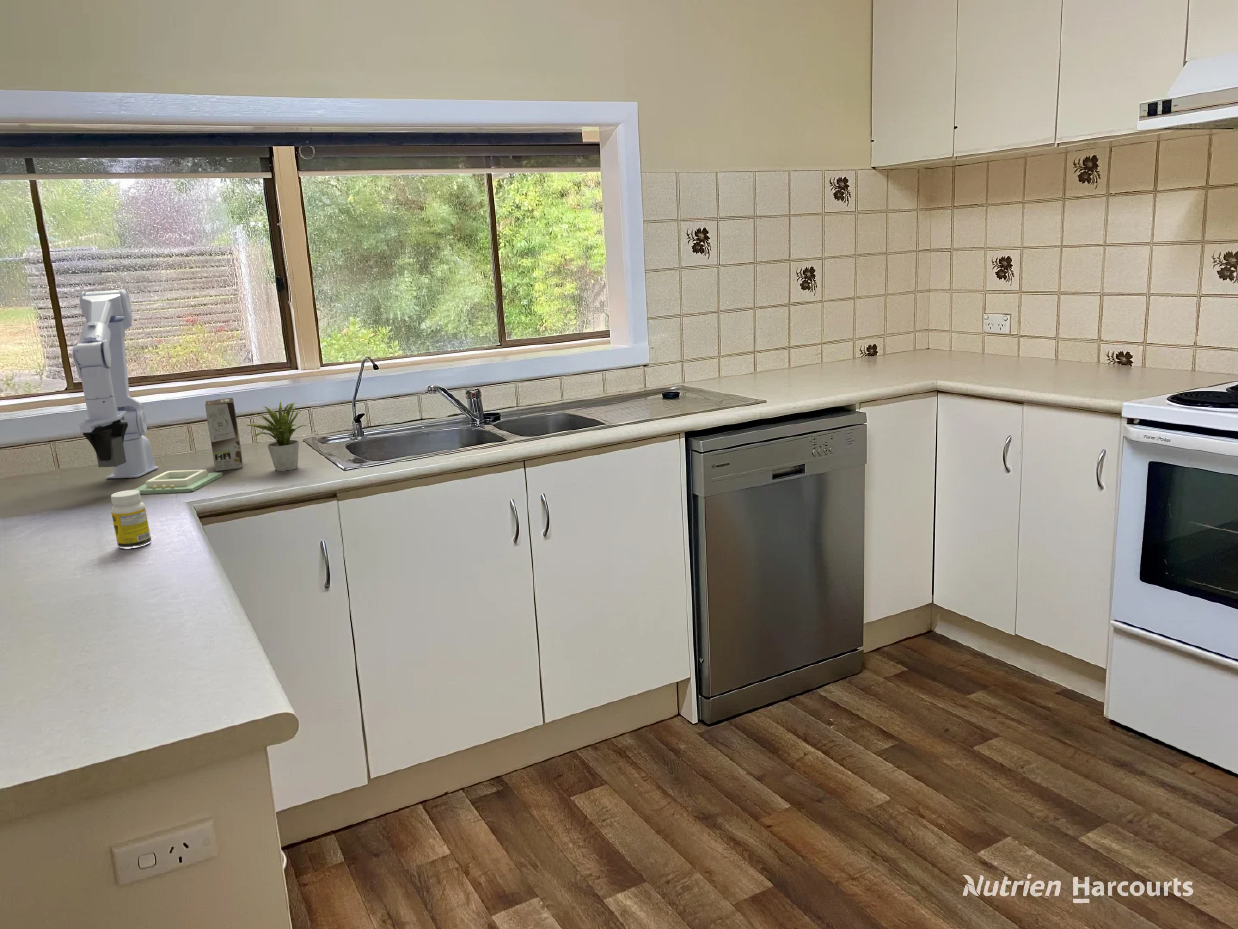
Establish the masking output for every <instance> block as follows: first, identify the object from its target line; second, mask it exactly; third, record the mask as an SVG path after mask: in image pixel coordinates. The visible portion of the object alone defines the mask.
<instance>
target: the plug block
mask: <svg viewBox="0 0 1238 929" xmlns="http://www.w3.org/2000/svg"><path fill="white" fill-rule="evenodd" d="M110 452H111V459H110V460H108V461H100V460H99V458H98V456H97V454H96V453H95V455H96V459H97V460H96V461H97V466H98V468H113V467H117V466H119V465H121V464H124V463H126V457H125V452H124V446H123V441H122V436H114V437H110Z"/></svg>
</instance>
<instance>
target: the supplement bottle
mask: <svg viewBox="0 0 1238 929" xmlns="http://www.w3.org/2000/svg"><path fill="white" fill-rule="evenodd" d="M110 498H111V504H112V508H111V509H110V510H111V512H110V513H111V518H112V524H113V527H114V534H115V538H116V543H117V547H118V546H119V547H133V546H141V545H144V544H146V543H148V542H150V541H151V542H152V536H151V531H150V526H149V520H148V514H147V510H146V505H145V503H143V501H141V500H142V497H141V494H140V491H138V490H134V489H127V490H122V491H118V492H115V493H111V495H110ZM119 547H118V548H119Z"/></svg>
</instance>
